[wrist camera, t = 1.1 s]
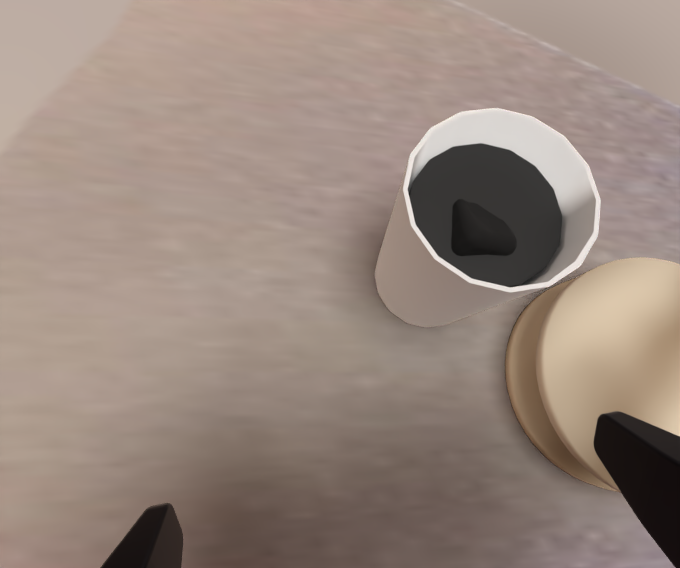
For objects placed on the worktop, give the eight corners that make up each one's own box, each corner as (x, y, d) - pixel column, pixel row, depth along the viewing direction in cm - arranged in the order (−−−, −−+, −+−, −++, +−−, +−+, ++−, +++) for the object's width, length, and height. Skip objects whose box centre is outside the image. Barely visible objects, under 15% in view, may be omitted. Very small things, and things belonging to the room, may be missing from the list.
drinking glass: (487, 338, 23) (614, 297, 13) (365, 333, 22) (403, 287, 13) (480, 224, 24) (588, 113, 15) (367, 218, 24) (402, 101, 15)
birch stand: (728, 341, 24) (810, 331, 20) (668, 533, 21) (749, 564, 17) (551, 245, 24) (596, 217, 21) (471, 417, 22) (505, 422, 18)
